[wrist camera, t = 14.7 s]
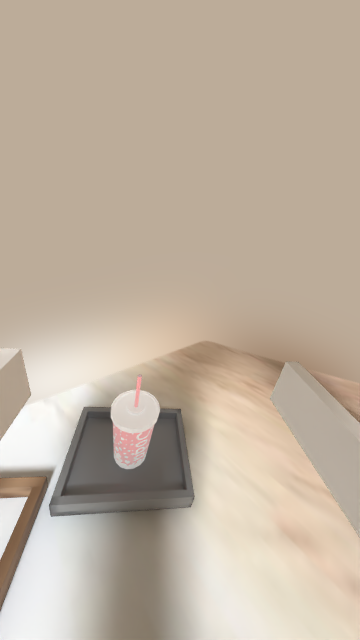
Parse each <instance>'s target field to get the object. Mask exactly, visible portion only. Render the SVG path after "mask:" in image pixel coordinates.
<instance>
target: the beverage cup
mask: <svg viewBox="0 0 360 640" xmlns="http://www.w3.org/2000/svg"><path fill="white" fill-rule="evenodd" d="M141 379H142V375H138V379H137V387H136V390H129V391H126V392H123V393H121V394H120V395H119V396H117V397H116V398H115V400H114V401H113V403H112V404H111V419H112V421H113V442H114V459H115V461H116V463H117V464H118V465H119V466H120V467H121V468H125V469H133V468H136V467H137V466H139V465H141V463H142V462H143V461H144V460H145V457H146V453H147V450H148V446H149V442H150V439H151V435H152V431H153V428H154V424H155V423H156V422H157V419H158V416H159V412H160V406H159V402H158V400H157V399H156V398H155V396H153V395H152V394H150V393H149V392H146V391H143V390H140V387H141Z"/></svg>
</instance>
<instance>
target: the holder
mask: <svg viewBox="0 0 360 640" xmlns="http://www.w3.org/2000/svg"><path fill="white" fill-rule="evenodd" d="M47 487H48V484H47V477H20V478H0V498H13V497H28V499H27V501H26V503H25V505H24V508H23V510H22V512H21V515H20V517H19V519H18V521H17V524H16V526H15V528H14V530H13V533H12V535H11V537H10V540H9V542H8V544H7V546H6V549H5V551H4V553H3V555H2V558H1V560H0V610H1V607H2V604H3V602H4V599H5V597H6V594H7V591H8V589H9V586H10V584H11V581H12V578H13V576H14V573H15V571H16V568H17V565H18V563H19V560H20V558H21V555H22V552H23V550H24V547H25V544H26V542H27V539H28V537H29V534H30V531H31V529H32V526H33V524H34V521H35V518H36V516H37V513H38V511H39V508H40V505H41V503H42V500H43V498H44V495H45V492H46V490H47Z"/></svg>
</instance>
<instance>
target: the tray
mask: <svg viewBox="0 0 360 640" xmlns="http://www.w3.org/2000/svg"><path fill="white" fill-rule="evenodd" d="M193 499H194V491H193V485H192V479H191V472H190V466H189V460H188V453H187V447H186V441H185V434H184V428H183V422H182V415H181V409H160V412H159V416H158V419H157V422H156V423H155V424H154V428H153V431H152V435H151V439H150V442H149V446H148V450H147V453H146V457H145V460H144V461H143V462H142V463H141V465H139V466H137V467H136V468H133V469H125V468H121V467H120V466H119V465H118V464H117V463H116V461H115V459H114V442H113V421H112V419H111V408H108V407H84V408H83V411H82V414H81V417H80V420H79V422H78V425H77V428H76V431H75V434H74V436H73V439H72V442H71V445H70V448H69V451H68V453H67V456H66V459H65V462H64V465H63V468H62V470H61V473H60V476H59V479H58V482H57V485H56V487H55V490H54V493H53V496H52V499H51V501H50V504H49V508H50V515H51V517H52V516H67V515H81V514H96V513H111V512H125V511H140V510H154V509H169V508H184V507H191V505H192V502H193Z"/></svg>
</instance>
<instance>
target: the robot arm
mask: <svg viewBox="0 0 360 640" xmlns="http://www.w3.org/2000/svg"><path fill="white" fill-rule="evenodd" d="M30 396H31V392H30V388H29V383H28V379H27V374H26V370H25V365H24V360H23V356H22V351H21V349H11V348H1V349H0V440H1V438H2V437H3V436H4V434H5V433H6V431H7V430H8V428H9V427H10V425H11V424H12V422H13V421H14V419H15V418H16V416H17V415H18V413H19V412H20V410H21V409H22V408H23V406H24V405H25V403H26V402H27V400H28V398H29V397H30ZM270 399H271V401H272V402H273V404H274V406H275V407H276V409H277V410H278V412H279V413H280V415H281V416H282V418H283V419H284V421H285V423H286V424H287V426H288V427H289V429H290V430H291V432H292V433H293V435H294V437H295V438H296V440H297V441H298V443H299V444H300V446H301V447H302V449H303V450H304V452H305V454H306V455H307V457H308V458H309V460H310V461H311V463H312V464H313V466H314V468H315V469H316V471H317V472H318V474H319V475H320V477H321V478H322V480H323V481H324V483H325V485H326V486H327V488H328V489H329V491H330V492H331V494H332V495H333V497H334V499H335V500H336V502H337V503H338V505H339V506H340V508H341V509H342V511H343V513H344V514H345V516H346V517H347V519H348V520H349V522H350V523H351V525H352V526H353V528H354V530H355V531H356V533H357V534H358V536H359V537H360V423H359V422H358V421H357V420H356V419H355V418H354V417H353V416H352V415H351V414H350V413H349V412H348V411H347V410H346V409H345V408H344V407H343V406H342V405H341V404H340V403H339V402H338V401H337V400H336V399H335V398H334V397H333V396H332V395H331V394H330V393H329V392H328V391H327V390H326V389H325V388H324V387H323V386H322V385H321V384H320V383H319V382H318V381H317V380H316V379H315V378H314V377H313V376H312V375H311V374H310V373H309V372H308V371H307V370H306V369H305V368H304V367H303V366H302V365H301V364H300V363H299V362H286V363H285V365H284V367H283V369H282V372H281V374H280V376H279V379H278V381H277V383H276V385H275V388H274V390H273V392H272V394H271V397H270Z"/></svg>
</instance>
